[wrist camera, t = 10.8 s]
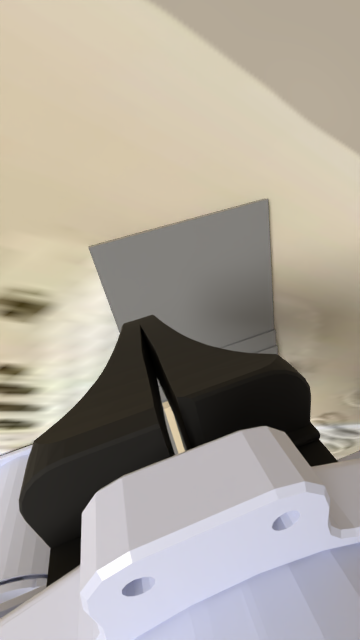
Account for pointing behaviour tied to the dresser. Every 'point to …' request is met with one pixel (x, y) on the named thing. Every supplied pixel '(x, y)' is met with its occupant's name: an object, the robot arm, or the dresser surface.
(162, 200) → the dresser surface
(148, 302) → the dock
